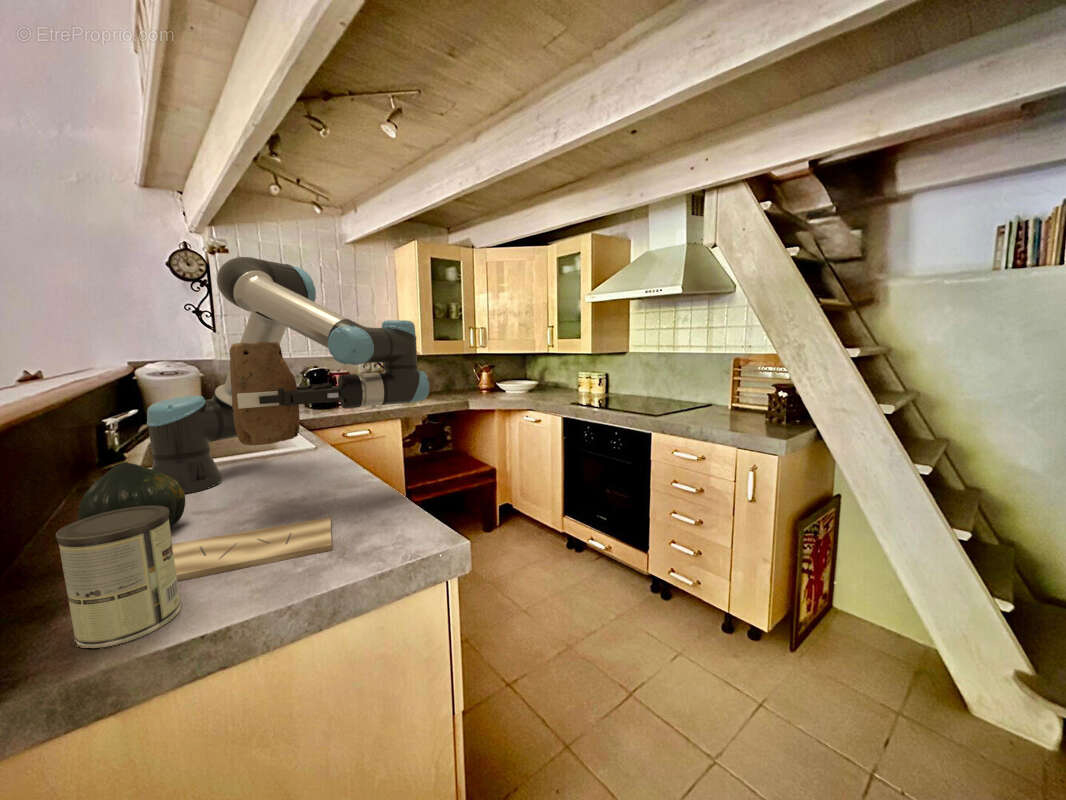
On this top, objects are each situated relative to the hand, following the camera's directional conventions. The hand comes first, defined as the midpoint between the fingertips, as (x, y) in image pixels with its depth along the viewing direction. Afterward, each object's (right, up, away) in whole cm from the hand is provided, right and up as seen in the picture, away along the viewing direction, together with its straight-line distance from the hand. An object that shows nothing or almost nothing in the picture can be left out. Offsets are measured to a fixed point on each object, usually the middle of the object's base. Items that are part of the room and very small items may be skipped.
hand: (237, 399), depth 83 cm
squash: (-20, -27, 0) cm, 33 cm away
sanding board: (+6, -27, -7) cm, 29 cm away
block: (+4, -9, +4) cm, 10 cm away
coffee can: (+5, -30, -27) cm, 40 cm away
